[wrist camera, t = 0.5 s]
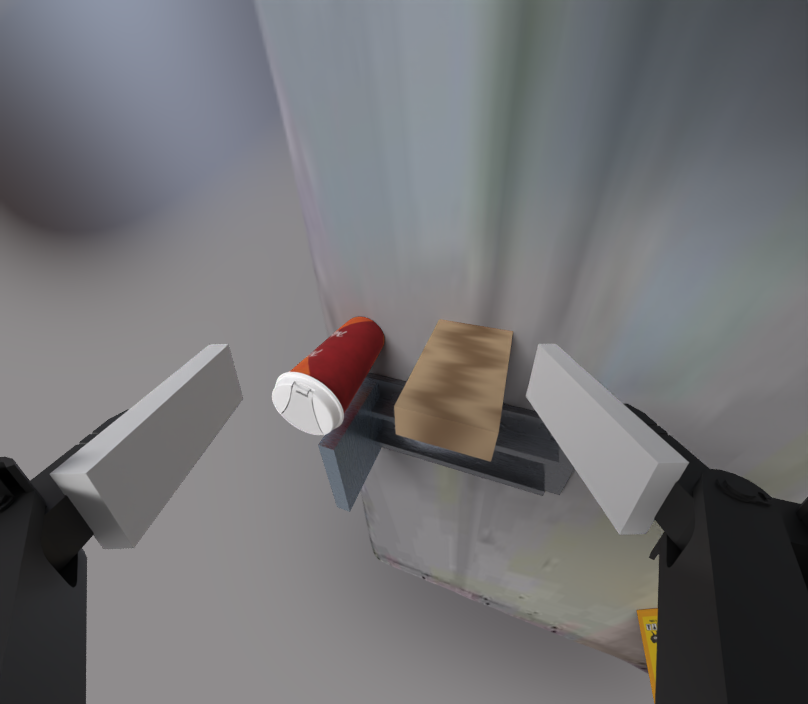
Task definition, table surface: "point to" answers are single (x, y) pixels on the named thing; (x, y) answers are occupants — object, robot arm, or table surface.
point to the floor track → (375, 428)
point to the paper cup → (328, 377)
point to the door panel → (457, 389)
